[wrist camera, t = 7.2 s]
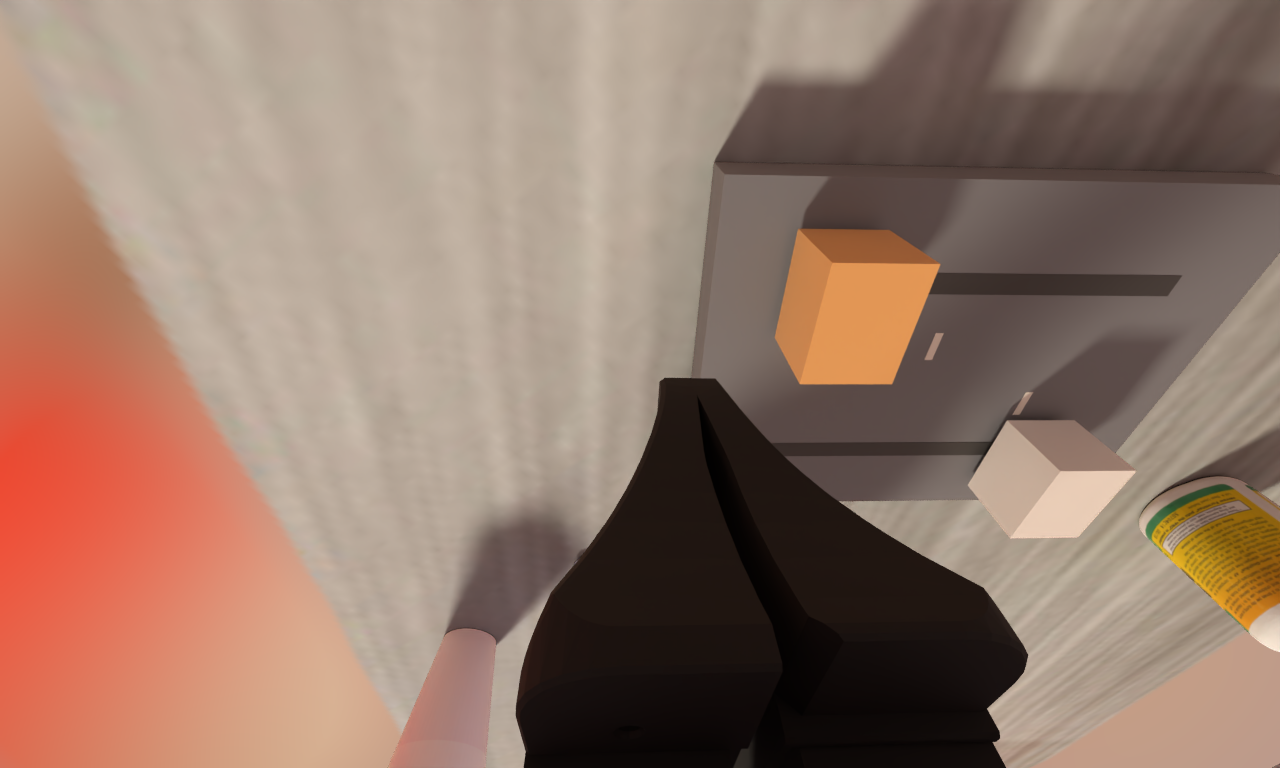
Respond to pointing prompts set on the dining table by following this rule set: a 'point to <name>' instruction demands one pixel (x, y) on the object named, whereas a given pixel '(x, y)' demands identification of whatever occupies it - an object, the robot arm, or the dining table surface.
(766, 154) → the dining table surface
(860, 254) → the block
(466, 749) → the smoothie
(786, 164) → the fader console
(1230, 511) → the supplement bottle
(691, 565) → the robot arm
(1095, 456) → the off white fader
